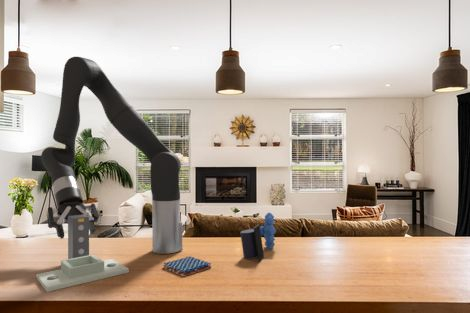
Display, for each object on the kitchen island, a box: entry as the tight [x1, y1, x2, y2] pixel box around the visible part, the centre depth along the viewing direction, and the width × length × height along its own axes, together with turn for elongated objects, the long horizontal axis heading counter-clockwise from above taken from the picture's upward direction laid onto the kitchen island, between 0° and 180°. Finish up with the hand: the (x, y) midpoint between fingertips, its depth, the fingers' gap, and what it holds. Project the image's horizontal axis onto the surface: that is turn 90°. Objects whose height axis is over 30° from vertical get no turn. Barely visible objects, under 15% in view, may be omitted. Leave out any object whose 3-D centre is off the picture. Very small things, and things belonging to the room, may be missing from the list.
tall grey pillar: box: [67, 214, 90, 259], centre depth 100 cm, size 4×5×14 cm
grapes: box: [260, 212, 277, 250], centre depth 116 cm, size 12×7×12 cm, turn 176°
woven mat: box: [162, 255, 212, 277], centre depth 95 cm, size 10×11×2 cm
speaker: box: [240, 224, 265, 263], centre depth 105 cm, size 8×6×10 cm
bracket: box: [36, 254, 130, 293], centre depth 90 cm, size 20×12×4 cm, turn 131°
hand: (78, 234), depth 100 cm, fingers open, 8 cm apart
